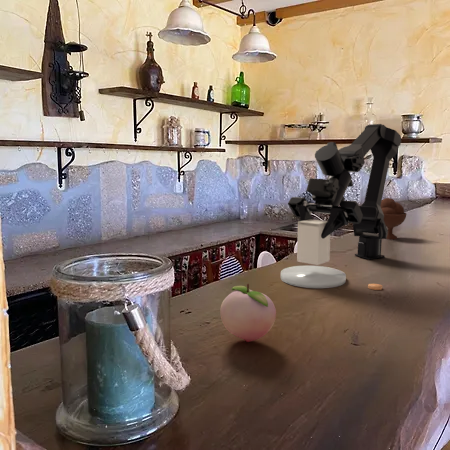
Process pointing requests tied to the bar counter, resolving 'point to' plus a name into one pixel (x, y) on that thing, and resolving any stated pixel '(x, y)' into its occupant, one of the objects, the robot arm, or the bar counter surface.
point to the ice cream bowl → (392, 215)
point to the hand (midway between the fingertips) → (311, 236)
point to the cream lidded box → (312, 242)
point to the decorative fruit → (247, 313)
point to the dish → (313, 276)
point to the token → (375, 286)
